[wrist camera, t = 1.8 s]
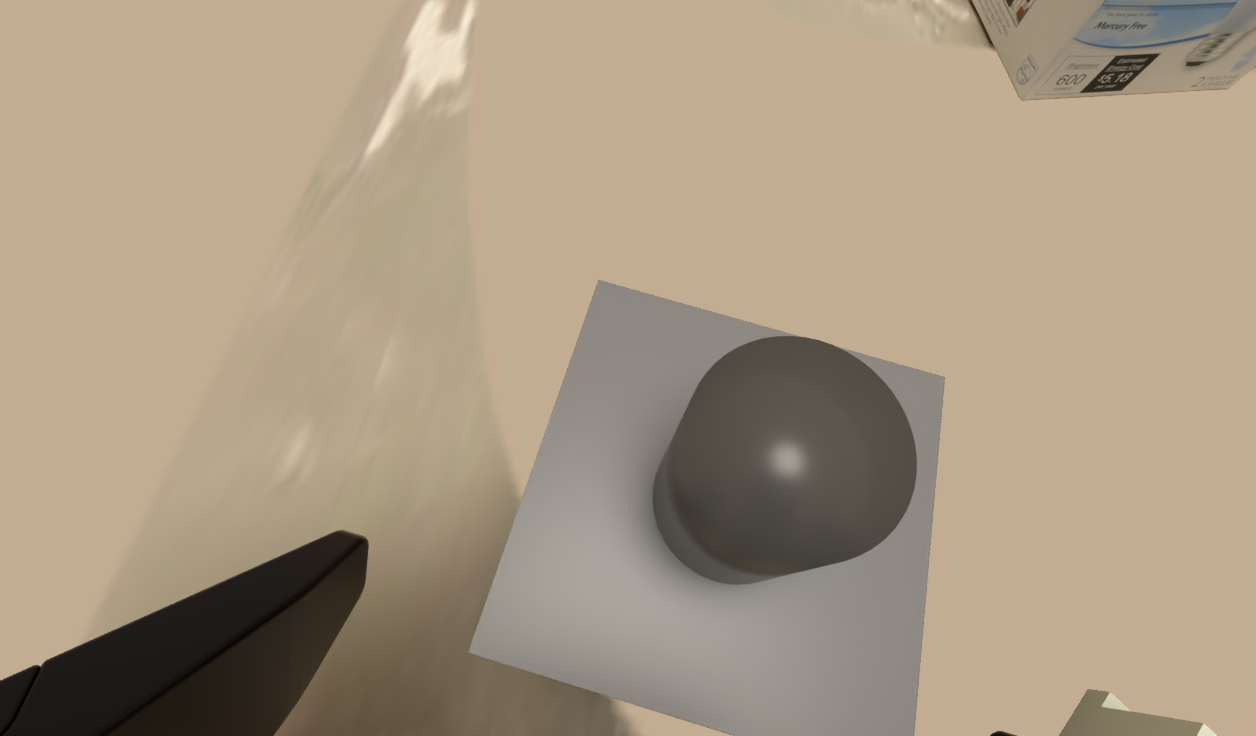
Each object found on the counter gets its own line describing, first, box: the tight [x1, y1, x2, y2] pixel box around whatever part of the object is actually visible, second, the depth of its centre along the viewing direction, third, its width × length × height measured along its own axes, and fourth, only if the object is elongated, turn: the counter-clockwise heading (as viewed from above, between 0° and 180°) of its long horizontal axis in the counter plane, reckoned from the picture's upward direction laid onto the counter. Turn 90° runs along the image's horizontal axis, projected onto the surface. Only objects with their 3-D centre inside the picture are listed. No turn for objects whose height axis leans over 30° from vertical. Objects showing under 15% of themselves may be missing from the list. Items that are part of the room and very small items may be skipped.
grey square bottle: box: [468, 280, 945, 736], centre depth 11 cm, size 5×5×14 cm
